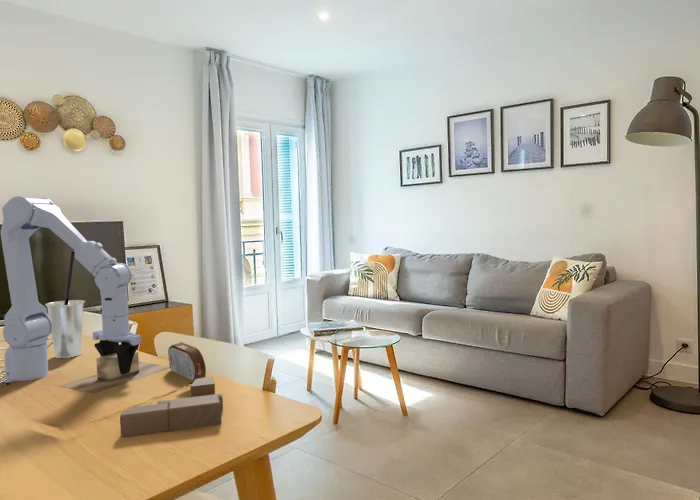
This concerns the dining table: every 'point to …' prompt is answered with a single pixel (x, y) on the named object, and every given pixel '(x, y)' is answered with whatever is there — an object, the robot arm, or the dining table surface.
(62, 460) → the dining table surface
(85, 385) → the plank
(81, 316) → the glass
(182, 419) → the wooden block set
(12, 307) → the robot arm
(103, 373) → the block
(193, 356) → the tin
